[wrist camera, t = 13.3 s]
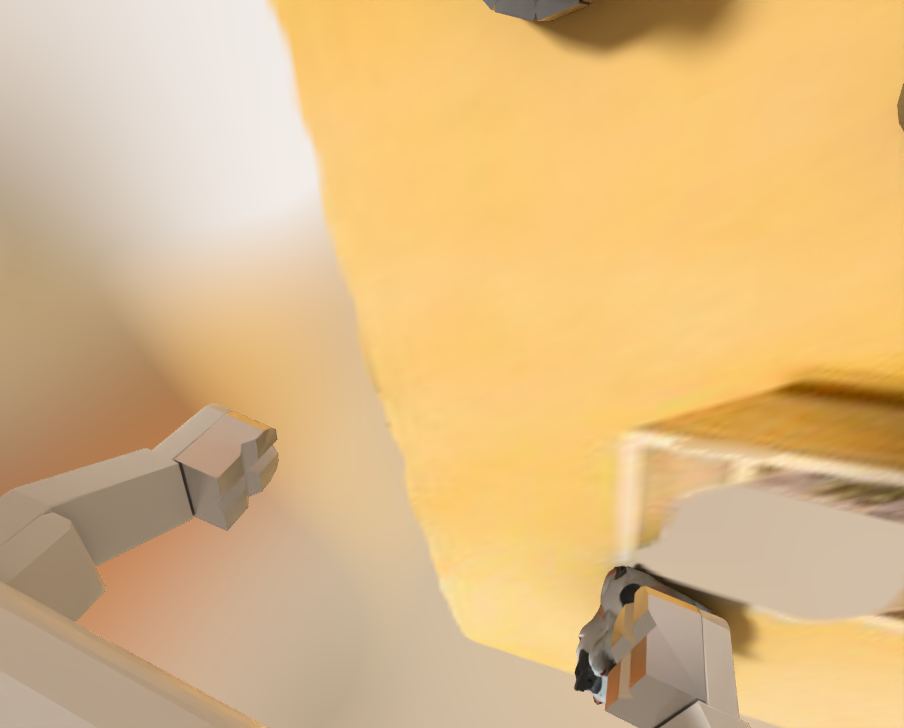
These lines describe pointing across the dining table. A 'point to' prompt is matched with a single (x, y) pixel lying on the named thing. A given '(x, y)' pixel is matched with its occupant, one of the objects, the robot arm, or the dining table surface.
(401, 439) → the dining table surface
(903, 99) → the olive pawn figure
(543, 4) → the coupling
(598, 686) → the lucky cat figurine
